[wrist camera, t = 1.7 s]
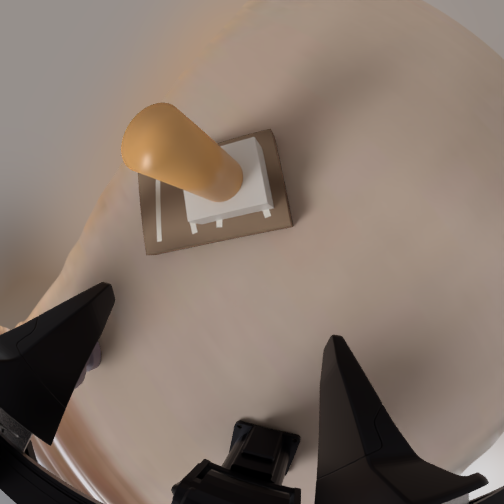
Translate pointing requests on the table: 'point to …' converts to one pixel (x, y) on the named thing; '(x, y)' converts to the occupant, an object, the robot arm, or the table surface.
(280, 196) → the walnut board
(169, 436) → the table surface
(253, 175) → the rubber stamp
